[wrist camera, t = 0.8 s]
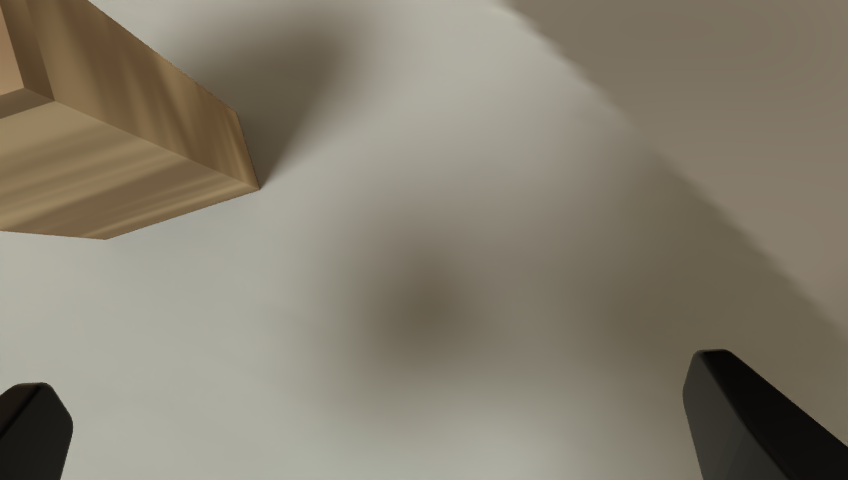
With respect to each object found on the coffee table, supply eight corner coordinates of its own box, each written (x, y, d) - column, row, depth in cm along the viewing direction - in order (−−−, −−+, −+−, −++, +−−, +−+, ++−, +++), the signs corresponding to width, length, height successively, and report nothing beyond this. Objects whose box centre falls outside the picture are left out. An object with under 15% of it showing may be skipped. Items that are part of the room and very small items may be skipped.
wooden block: (259, 189, 23) (24, 87, 10) (105, 239, 23) (-328, 202, 10) (236, 112, 23) (-27, -86, 10) (82, 162, 23) (-373, 28, 10)
